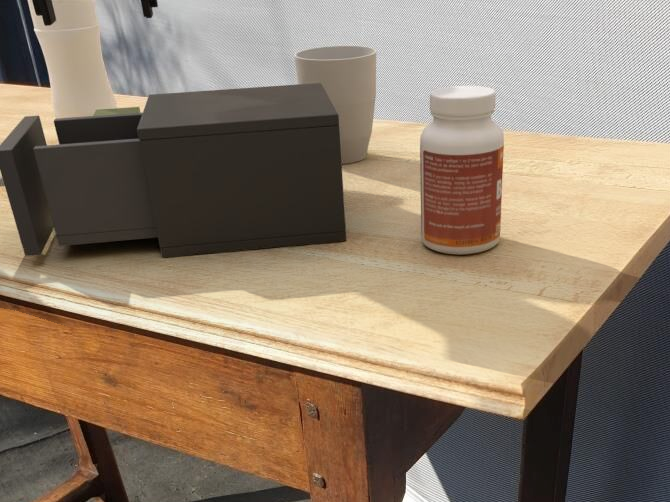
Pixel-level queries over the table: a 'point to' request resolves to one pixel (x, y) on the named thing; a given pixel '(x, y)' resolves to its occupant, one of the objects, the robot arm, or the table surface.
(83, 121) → the grey drawer with handle
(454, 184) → the pill bottle
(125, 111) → the block
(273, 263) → the table surface
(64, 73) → the water bottle
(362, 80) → the cup
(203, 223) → the dark grey box
